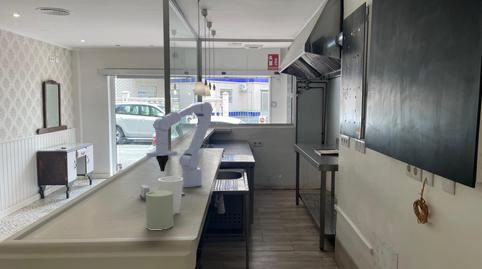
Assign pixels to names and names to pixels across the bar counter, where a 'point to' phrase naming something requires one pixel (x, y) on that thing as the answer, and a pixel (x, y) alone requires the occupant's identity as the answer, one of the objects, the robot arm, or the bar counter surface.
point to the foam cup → (172, 189)
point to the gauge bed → (146, 189)
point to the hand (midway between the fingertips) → (162, 171)
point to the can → (159, 209)
